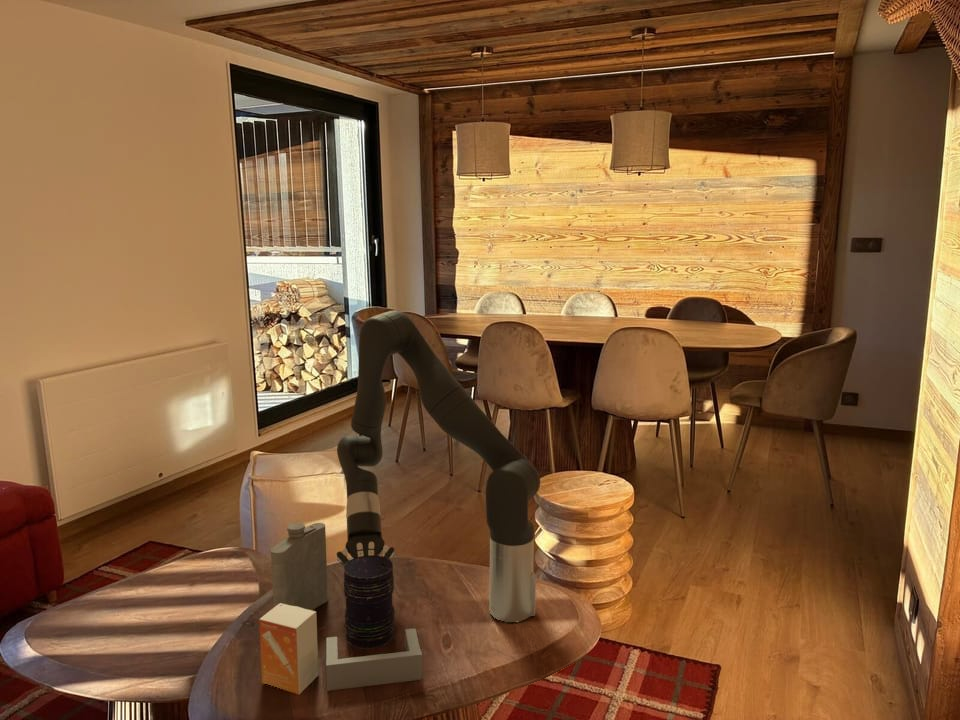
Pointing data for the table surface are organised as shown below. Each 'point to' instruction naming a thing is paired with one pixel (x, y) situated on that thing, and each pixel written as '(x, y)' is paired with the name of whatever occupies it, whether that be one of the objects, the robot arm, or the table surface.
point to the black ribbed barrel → (369, 601)
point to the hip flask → (300, 567)
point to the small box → (289, 647)
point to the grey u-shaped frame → (373, 666)
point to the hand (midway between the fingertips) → (367, 594)
